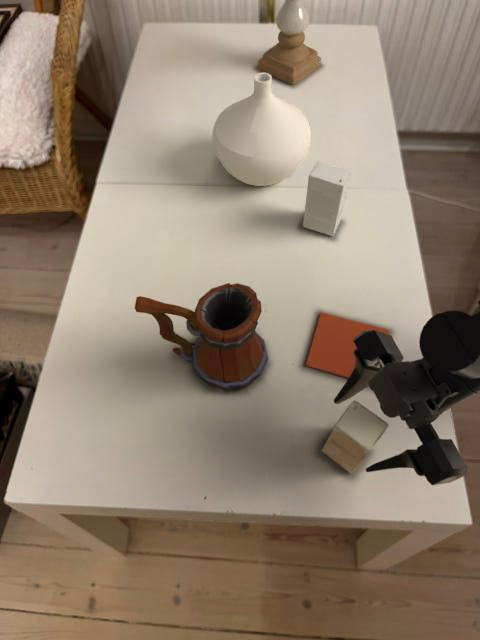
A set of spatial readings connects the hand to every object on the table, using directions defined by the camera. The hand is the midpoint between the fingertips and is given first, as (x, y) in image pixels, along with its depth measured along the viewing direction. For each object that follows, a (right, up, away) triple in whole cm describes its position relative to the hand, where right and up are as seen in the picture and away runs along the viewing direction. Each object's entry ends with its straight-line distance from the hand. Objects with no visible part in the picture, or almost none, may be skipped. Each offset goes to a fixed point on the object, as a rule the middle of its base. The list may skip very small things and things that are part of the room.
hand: (350, 435), depth 61 cm
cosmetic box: (+1, +32, +29) cm, 43 cm away
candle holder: (-2, +75, +56) cm, 93 cm away
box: (+1, -4, +7) cm, 8 cm away
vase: (-10, +45, +37) cm, 59 cm away
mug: (-19, +9, +15) cm, 25 cm away
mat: (+3, +10, +15) cm, 18 cm away
